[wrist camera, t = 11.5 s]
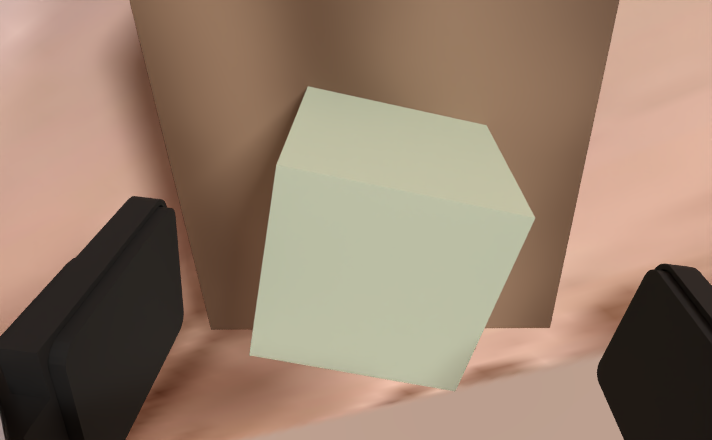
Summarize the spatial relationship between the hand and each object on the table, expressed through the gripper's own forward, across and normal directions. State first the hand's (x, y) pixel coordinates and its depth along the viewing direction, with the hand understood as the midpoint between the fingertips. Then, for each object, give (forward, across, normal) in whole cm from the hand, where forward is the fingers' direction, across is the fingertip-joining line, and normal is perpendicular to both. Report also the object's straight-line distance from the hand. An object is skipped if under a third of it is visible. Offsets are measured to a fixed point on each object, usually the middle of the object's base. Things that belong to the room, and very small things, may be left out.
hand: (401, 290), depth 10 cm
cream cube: (+5, 0, 0) cm, 5 cm away
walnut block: (+10, +1, 0) cm, 10 cm away
